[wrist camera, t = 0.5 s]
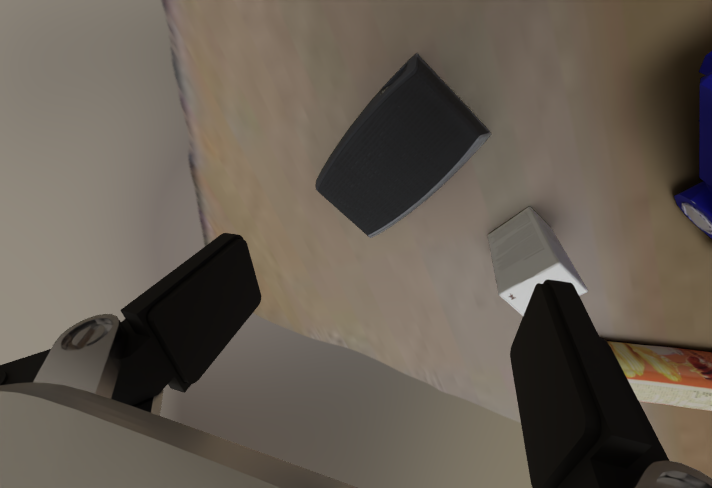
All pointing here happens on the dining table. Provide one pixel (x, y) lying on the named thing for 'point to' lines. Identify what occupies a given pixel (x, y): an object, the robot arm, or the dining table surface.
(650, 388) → the snack package
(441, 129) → the external hard drive
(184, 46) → the dining table surface
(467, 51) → the dining table surface
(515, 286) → the skincare box
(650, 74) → the dining table surface
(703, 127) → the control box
